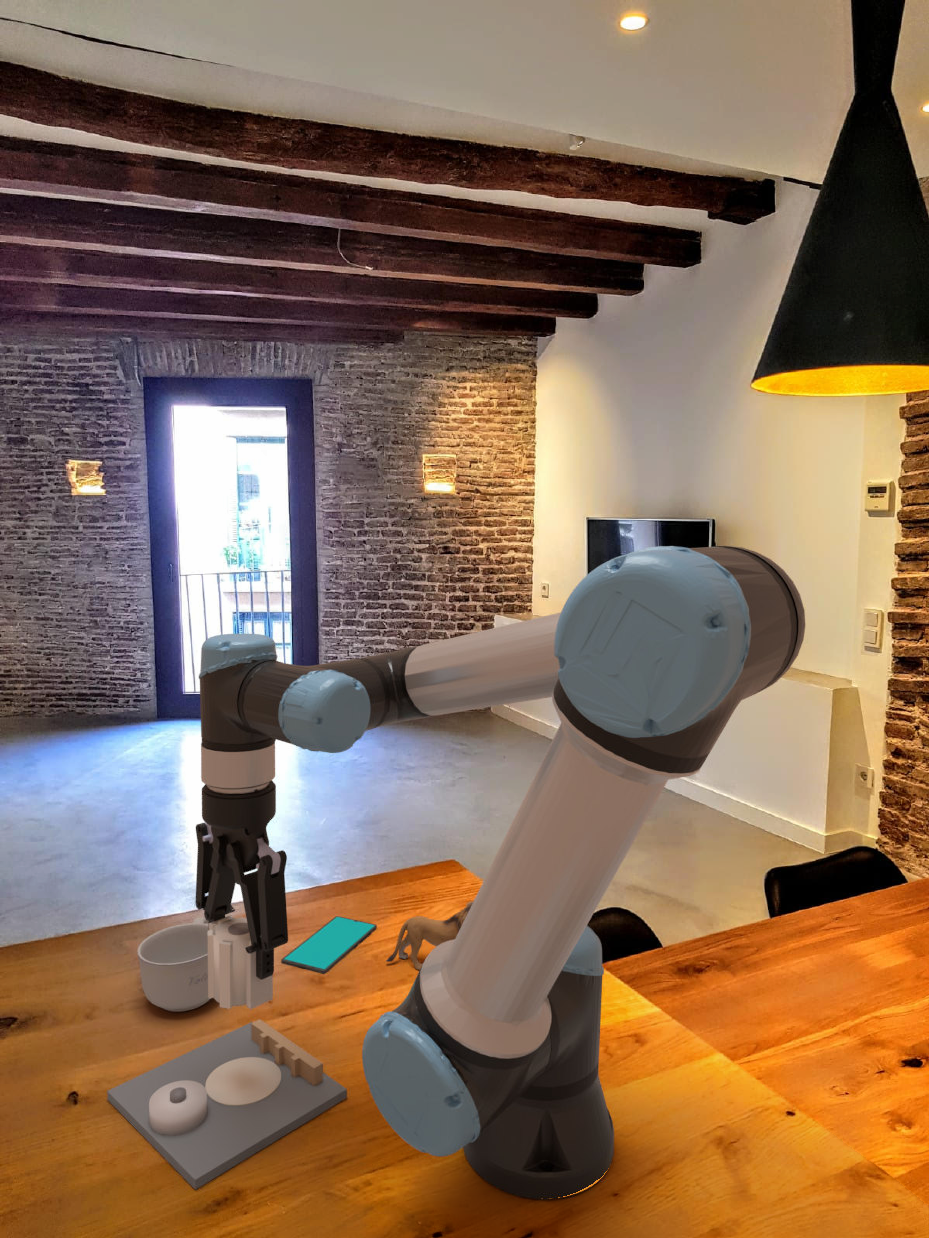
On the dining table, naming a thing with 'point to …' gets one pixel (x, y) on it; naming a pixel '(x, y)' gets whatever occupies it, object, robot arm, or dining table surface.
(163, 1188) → the dining table surface
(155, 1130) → the carrier plate
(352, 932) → the smartphone
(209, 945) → the planet gear
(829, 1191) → the dining table surface
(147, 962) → the teacup
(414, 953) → the lion figurine
